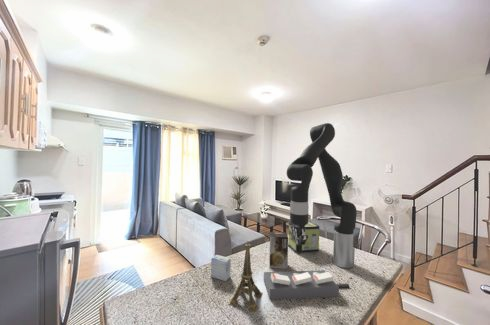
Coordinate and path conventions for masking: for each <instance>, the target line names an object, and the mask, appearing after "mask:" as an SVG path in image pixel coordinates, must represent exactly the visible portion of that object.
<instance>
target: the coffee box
mask: <svg viewBox="0 0 490 325" xmlns="http://www.w3.org/2000/svg"><path fill="white" fill-rule="evenodd" d="M288 241H289V234H288V232H278V231H270V232H269V261H268V263H269V264H268V267H269V268H270V269H283V270H288V267H289V266H288V261H289V259H288V257H289V252H288V251H289V246H288Z"/></svg>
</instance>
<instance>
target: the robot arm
mask: <svg viewBox="0 0 490 325" xmlns="http://www.w3.org/2000/svg"><path fill="white" fill-rule="evenodd" d="M309 136H310V140H311V143H310V144H308V146H306V147H305V149H304V150H303V151H302V152H301V154H300V155H299V157H297V158H296V159H295V160H293V161H292V162H291V163H290V164H288V167H287V169H286V176H287V178H288V179H289V180H290V181H296V182H300V184H299V185H297V186H291V189H290V204H289V222H291V223H292V224H293V226H291V230H292V234H293V239H294V240H295V243H296V252H297V253H296V254H303V253H302V245H305V243H306V241H307V239H308V235H305V225H307V224H308V221H309V189H310V185H311V182H312V178H313V174H314V171H313V166H314V165H315V163H316V162H317V160H318V161H319V162H318V163H319V165H320V168H321V172H322V176H323V179H324V181H325V186H326V189H327V192H328V197H329V202H330V208H331V212H332V213H333V215H334V216H335V217H337V218H339V219H340V220H339V223H336V224H334V228H333V253H332V254H333V255H332V257H333V258H332V262H333V264H334V265H335V266H337V267H339V268H341V269H343V268H344V269H351V268H353V267H355V252H356V250H355V249H356V248H355V247H354V234H355V233H354V231H355V229H356V227H357V226H356V225H357V216H358V215H357V214H358V213H357V212H358V211H357V207H356V205H355V204H354V203H353V202H349V201H346V200H345V199H344V198H343V195H342V188H341V187H342V185H343V181H344V180H343V179H344V174H343V171H342V168H341V165H340V163H339V162H338V160H337V159H335V157H333V156H332V155H331V154H330V153H329V152H328V151H327V150H326V147H328V146H329V145H330V143H332V141H333V140H334V138H335V136H336V130H335V128H334V126H333V124H332V123H329V122H327V123H322V124H319V125H316V126H313V127H311V128H310V129H309Z"/></svg>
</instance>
